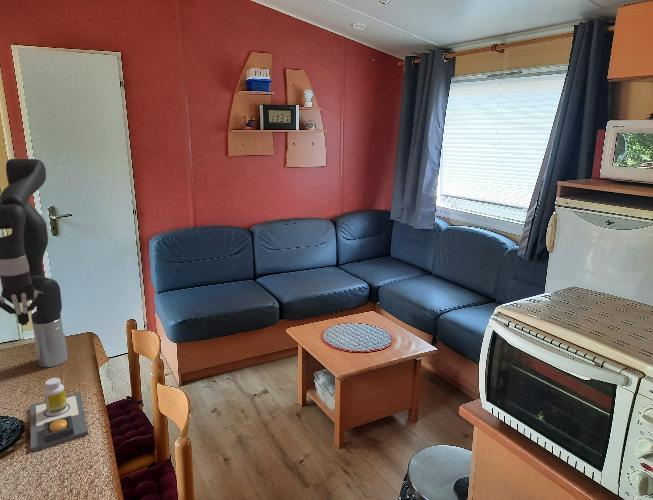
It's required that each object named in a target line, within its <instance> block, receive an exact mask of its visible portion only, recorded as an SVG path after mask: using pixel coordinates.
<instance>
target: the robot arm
mask: <svg viewBox="0 0 653 500" xmlns="http://www.w3.org/2000/svg"><path fill="white" fill-rule="evenodd" d="M5 173H6V180H7V183H8V185H7V186H6V187H4V189H3V190H2V192H1V193H0V230H11V233H10V234H9V235H8V234H7V235H4V236H0V283H1V289H2V291H1V294H0V309H2V310H4V311H5V312H6V313H7V314H10V315H16V318H17V322H18V324H19V325H21V326H26V325H28V323H29V322H30V319H31V324H32V330H33V334H34V342H35V347H36V353H37V359H38V364H39V367H42V368H52V367H55V366H59V365H61V364H64V363H65V362H67V361H68V356H69V353H68V346H67V339H66V334H65V333H64V328H63V321H62V314H61V313H62V308H63V306H62V305H63V303H62V302H63V301H62V294H61V288H60V285H59V283H58V281H56V280H55V279H52V278H49V277H45V273H44V267H43V259H44V256H45V253H46V251H47V248H48V243H49V236H48V235H49V234H48V227H47V222H46V221H45V218H44V217H43V216H42V215H41V213H39V212H38V210H37V209H36V208H35V207H34V206H33V205H32V204H31V202H30V201H29V200H30V198H31V197H32V196H33V195H34V194H35V193H36V192H37V191H39V189H40V188H41V187H43V185H44V184H45V182H46V180H47V171H46V166H45V164H44V162H43V161H41V160H40V159H35V158H10V159H8V160H7V161H6V164H5ZM6 301H7V302H9V303H10V304H13V307H12V306H10V305H9V304H7V303H6ZM29 301H31V302H30V304H29V305H28V302H29ZM21 304H22V305H21ZM21 306H22V308H21ZM35 308H36V310H35ZM34 310H35V311H34ZM31 311H34V312H32V313H31V316H29V312H31ZM29 317H31V318H29Z"/></svg>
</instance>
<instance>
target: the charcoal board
mask: <svg viewBox="0 0 653 500" xmlns="http://www.w3.org/2000/svg"><path fill="white" fill-rule="evenodd" d="M65 396H66V398H68V397H72V396H76V402H77V407H78V413H79V415H77V416H73V417H71V416H67V417H64V418H60V419H64V420H66V421H67V426H68V428H65V429H61V430H58V431H54V432H51V433H50V428H49V425H50V424H51V423H52V422H54V421H56V420H53V421H49V422H46V423H44V425H41V426H38V427H36V406H38V405H42V404H45V403H46V402H45V400H44V401H40V402H35V403H32V404H30V405H29V406H30V407H29V408H30V409H29V412H30V413H29V414H30V415H29V416H30V422H29V423H30V425H29V426H30V451H31V453H33V452H35V451H36V452H37V451H39V450H43V449H45V448H49V447H51V446H56V445H58V444H62V443H66V442H68V441H72V440H74V439H78V438H81V437H85V436H88V434H89V429H88V424H87V419H86V414H85V410H84V409H85V408H84V405H83V400H82V395H81V391H79V392H78V391H77V392H75V393H72V394H71V393H70V394H67V395H66V394H65ZM60 419H57V420H60Z"/></svg>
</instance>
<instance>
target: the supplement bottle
mask: <svg viewBox="0 0 653 500" xmlns="http://www.w3.org/2000/svg"><path fill="white" fill-rule="evenodd" d="M44 385H45V389H44V390H43V396H44V401H45V402H46V408H47V412H48V413H49V414H57V413H60V412H62V411H64V410H65V409H66V408H67V402H66V391H65V386H64V385H63V384H62V382H61V379H60V378H59V377H53V378H52V377H51V378H49V379H47V380H46V381H45V383H44Z"/></svg>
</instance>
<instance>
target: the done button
mask: <svg viewBox="0 0 653 500" xmlns="http://www.w3.org/2000/svg"><path fill="white" fill-rule="evenodd" d="M49 428H50V433H51V432H54V431H58V430H61V429H65V428H68V426H67V421H66V420H64V419H60V420H56V421H54V422H52V423H51V424H50V425H49Z"/></svg>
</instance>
